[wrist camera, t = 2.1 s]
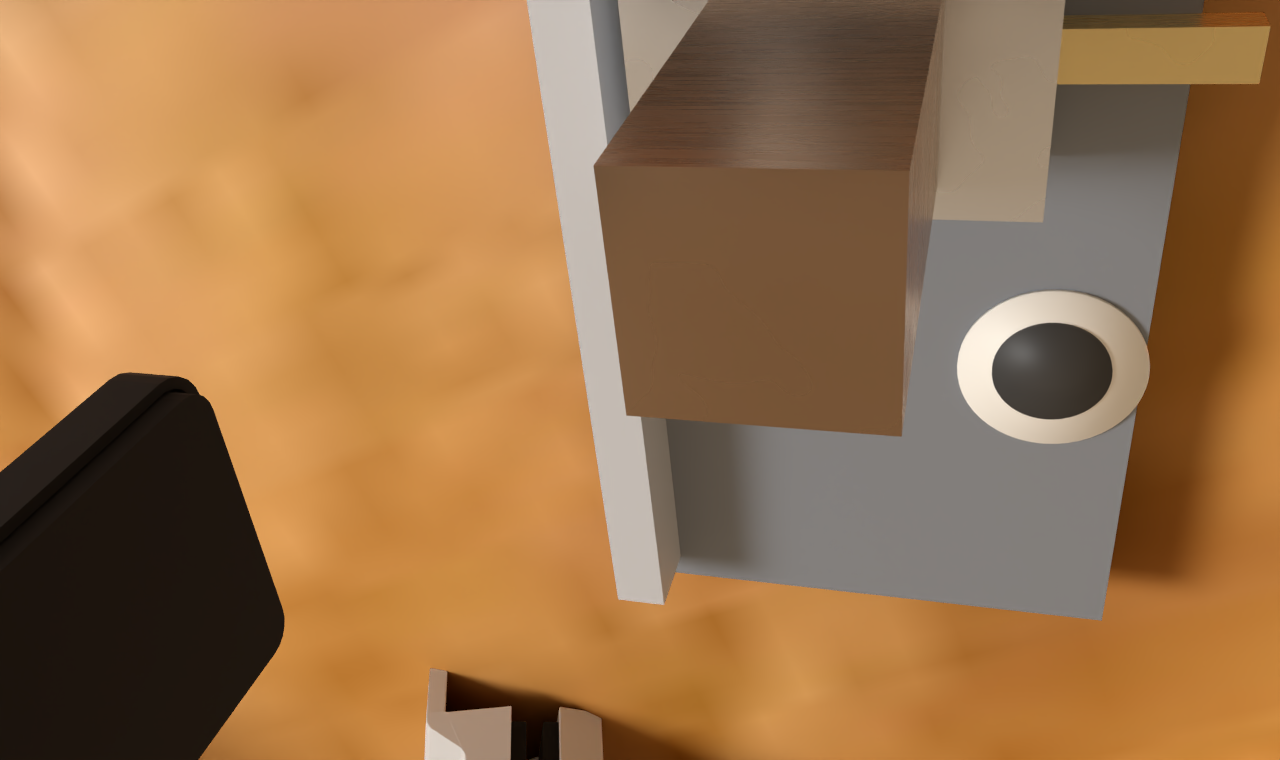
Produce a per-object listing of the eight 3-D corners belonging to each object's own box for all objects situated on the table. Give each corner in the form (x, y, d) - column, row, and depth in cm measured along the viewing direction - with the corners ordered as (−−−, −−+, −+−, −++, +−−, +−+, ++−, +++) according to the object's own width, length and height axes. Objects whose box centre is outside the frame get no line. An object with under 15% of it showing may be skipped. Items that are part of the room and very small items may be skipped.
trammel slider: (649, -87, 18) (442, 116, 12) (1285, -114, 15) (1459, 121, 9) (671, 159, 20) (508, 440, 14) (1230, 167, 18) (1342, 511, 11)
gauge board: (524, -391, 18) (360, -370, 13) (1272, -481, 15) (1374, -490, 10) (643, 522, 28) (571, 705, 23) (1102, 569, 25) (1118, 786, 20)
